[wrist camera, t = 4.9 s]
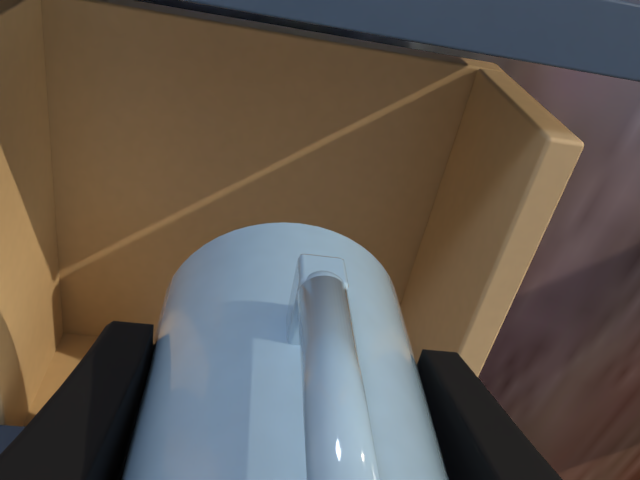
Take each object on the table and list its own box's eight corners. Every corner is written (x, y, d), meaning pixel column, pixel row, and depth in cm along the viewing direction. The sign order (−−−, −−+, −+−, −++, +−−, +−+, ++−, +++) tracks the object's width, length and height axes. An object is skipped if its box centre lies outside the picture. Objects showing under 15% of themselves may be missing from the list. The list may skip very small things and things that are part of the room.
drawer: (-33, -226, 12) (-247, -289, 7) (573, -90, 14) (736, -65, 9) (27, 324, 19) (-53, 477, 15) (410, 357, 22) (450, 501, 17)
